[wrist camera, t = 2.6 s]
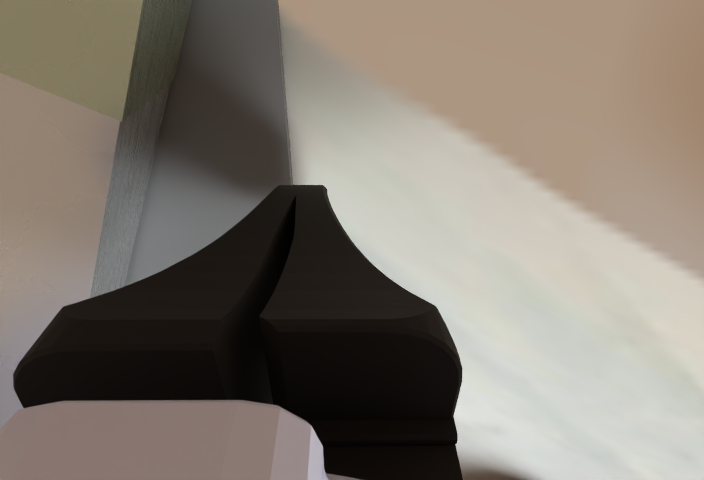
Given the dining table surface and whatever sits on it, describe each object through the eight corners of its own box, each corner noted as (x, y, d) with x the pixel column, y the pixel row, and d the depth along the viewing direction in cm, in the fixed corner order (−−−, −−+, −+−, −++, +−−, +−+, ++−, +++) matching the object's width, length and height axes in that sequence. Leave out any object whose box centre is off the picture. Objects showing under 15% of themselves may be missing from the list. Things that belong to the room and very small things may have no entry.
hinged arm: (93, 427, 20) (56, 499, 17) (-2, 406, 19) (-57, 479, 16) (215, -99, 9) (163, -115, 6) (5, -216, 8) (-156, -291, 5)
